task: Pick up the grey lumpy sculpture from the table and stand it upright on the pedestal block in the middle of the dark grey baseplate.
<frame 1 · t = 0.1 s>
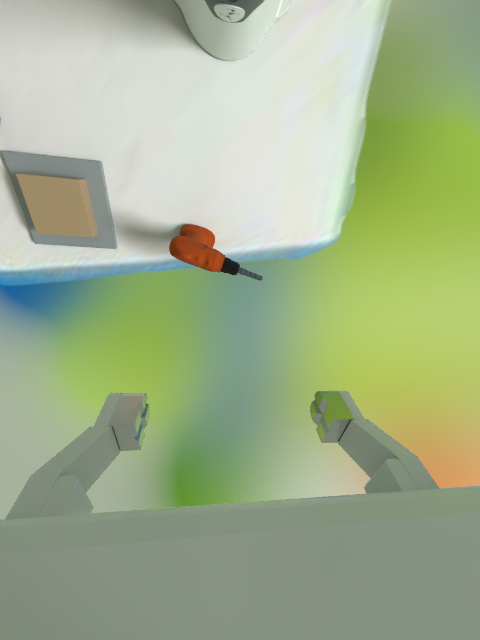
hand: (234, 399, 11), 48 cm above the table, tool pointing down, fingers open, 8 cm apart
toy drill: (216, 243, 55), on the table
baseplate: (67, 204, 47), on the table
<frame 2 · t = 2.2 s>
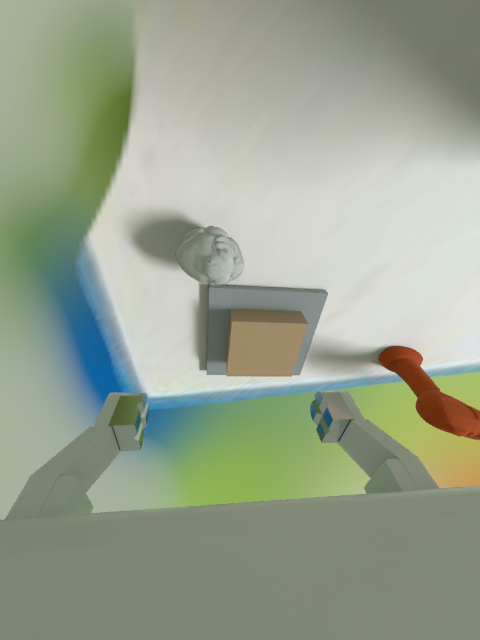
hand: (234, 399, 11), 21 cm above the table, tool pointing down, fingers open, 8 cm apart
toy drill: (416, 361, 44), on the table
grey lumpy sculpture: (210, 245, 28), on the table
baseplate: (260, 334, 36), on the table
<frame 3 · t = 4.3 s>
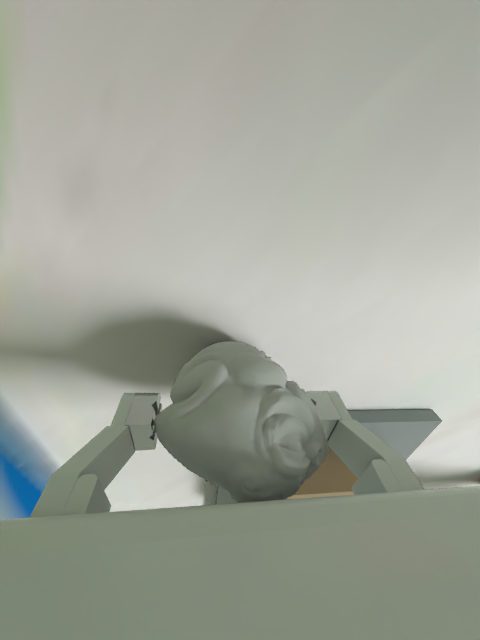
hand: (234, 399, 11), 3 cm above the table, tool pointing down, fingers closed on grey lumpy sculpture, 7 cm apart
grey lumpy sculpture: (231, 355, 14), on the table, touching gripper
baseplate: (307, 465, 22), on the table
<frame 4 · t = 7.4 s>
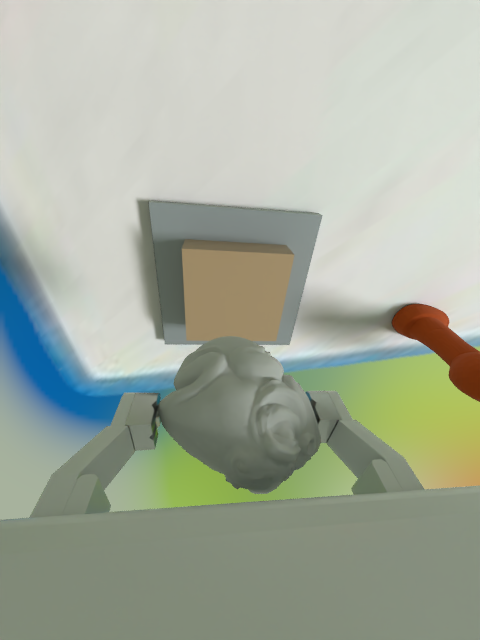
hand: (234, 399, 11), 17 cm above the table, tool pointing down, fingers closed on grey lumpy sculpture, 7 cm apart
toy drill: (439, 326, 34), on the table
grey lumpy sculpture: (234, 351, 14), point 14 cm above the table, touching gripper
baseplate: (232, 284, 27), on the table
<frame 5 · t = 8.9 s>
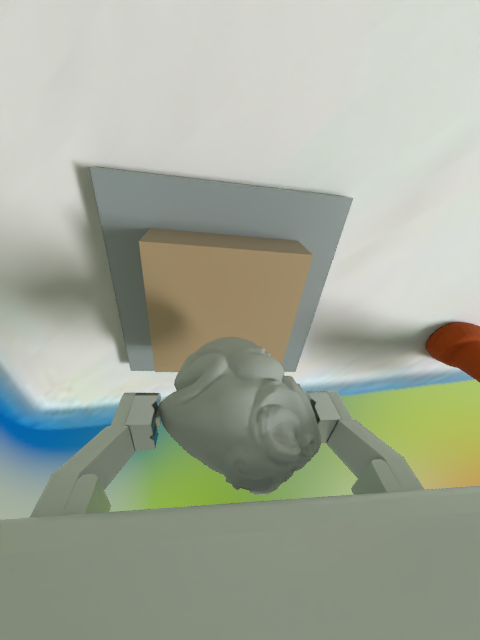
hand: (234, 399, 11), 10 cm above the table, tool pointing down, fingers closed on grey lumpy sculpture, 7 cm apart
grey lumpy sculpture: (235, 351, 14), point 7 cm above the table, touching gripper
baseplate: (222, 293, 20), on the table
when the fingers open (8 cm above the table, at t = 10.3 s): grey lumpy sculpture stays where it is, resting on baseplate.
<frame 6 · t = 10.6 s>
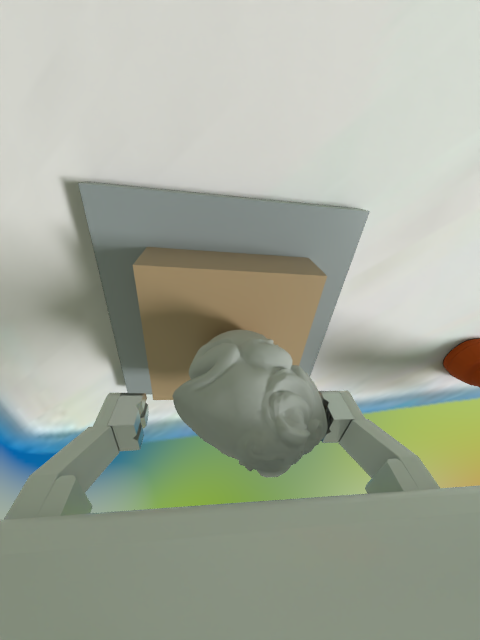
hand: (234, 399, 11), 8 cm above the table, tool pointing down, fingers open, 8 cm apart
grey lumpy sculpture: (242, 345, 15), point 4 cm above the table, touching baseplate, gripper
baseplate: (225, 313, 18), on the table
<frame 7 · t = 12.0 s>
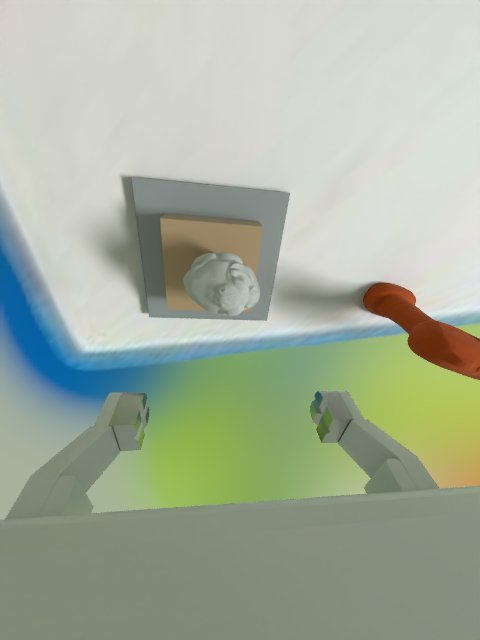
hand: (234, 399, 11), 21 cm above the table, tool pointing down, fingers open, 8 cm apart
toy drill: (408, 306, 36), on the table
grey lumpy sculpture: (219, 270, 26), point 4 cm above the table, touching baseplate
baseplate: (211, 259, 29), on the table
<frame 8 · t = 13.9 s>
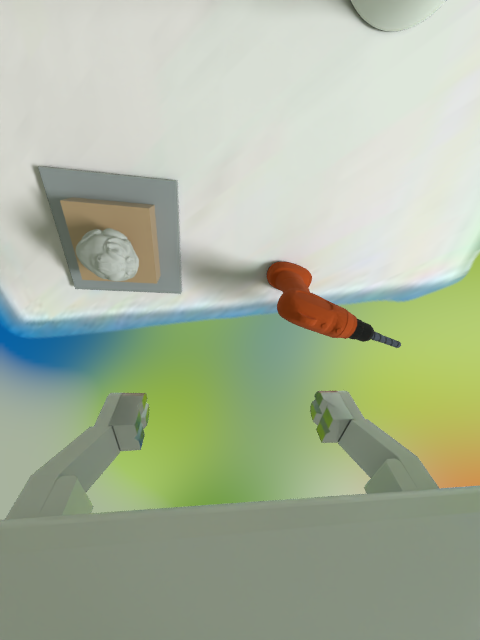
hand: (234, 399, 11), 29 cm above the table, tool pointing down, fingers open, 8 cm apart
toy drill: (310, 283, 41), on the table
grey lumpy sculpture: (121, 246, 31), point 4 cm above the table, touching baseplate
baseplate: (123, 238, 34), on the table
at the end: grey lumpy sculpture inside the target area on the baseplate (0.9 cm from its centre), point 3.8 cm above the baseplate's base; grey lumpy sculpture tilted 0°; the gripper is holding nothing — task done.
